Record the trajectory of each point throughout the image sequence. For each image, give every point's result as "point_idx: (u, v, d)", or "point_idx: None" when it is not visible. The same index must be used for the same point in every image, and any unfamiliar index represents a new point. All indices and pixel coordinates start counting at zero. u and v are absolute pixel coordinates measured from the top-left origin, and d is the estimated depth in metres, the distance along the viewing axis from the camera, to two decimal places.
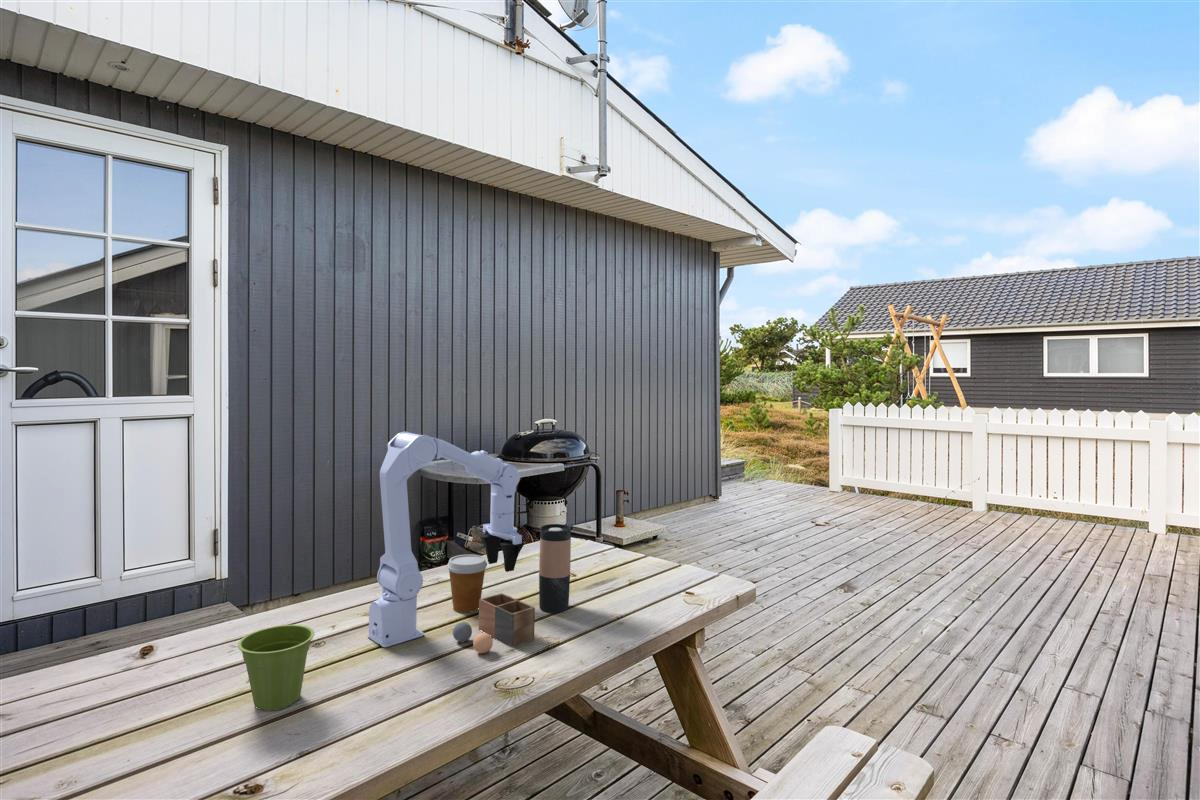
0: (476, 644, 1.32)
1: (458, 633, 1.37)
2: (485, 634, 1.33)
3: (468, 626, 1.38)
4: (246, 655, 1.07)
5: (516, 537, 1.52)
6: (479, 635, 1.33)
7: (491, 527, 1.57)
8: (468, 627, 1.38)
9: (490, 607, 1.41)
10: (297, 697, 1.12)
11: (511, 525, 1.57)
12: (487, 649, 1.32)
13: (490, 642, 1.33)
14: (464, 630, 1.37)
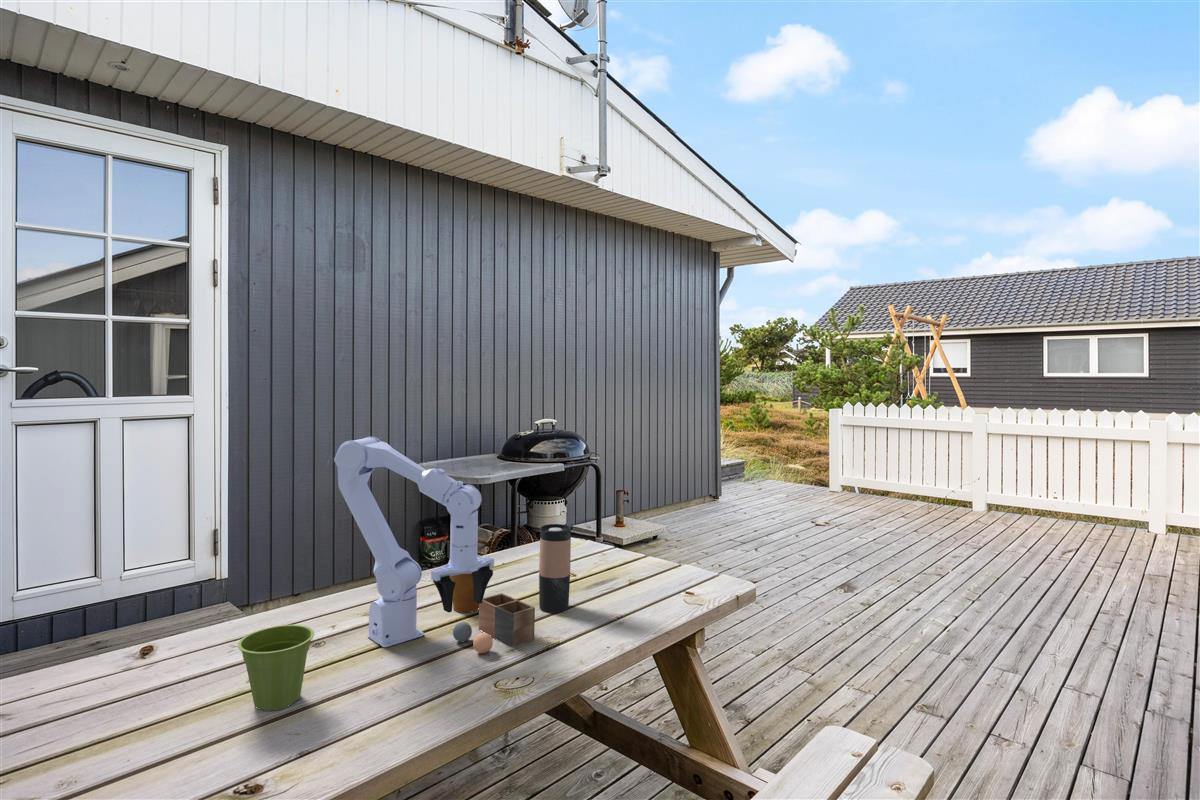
0: (476, 644, 1.32)
1: (458, 633, 1.37)
2: (485, 634, 1.33)
3: (468, 626, 1.38)
4: (246, 655, 1.07)
5: (432, 571, 1.33)
6: (479, 635, 1.33)
7: None
8: (468, 627, 1.38)
9: (490, 607, 1.41)
10: (297, 697, 1.12)
11: (455, 560, 1.35)
12: (487, 649, 1.32)
13: (490, 642, 1.33)
14: (464, 630, 1.37)
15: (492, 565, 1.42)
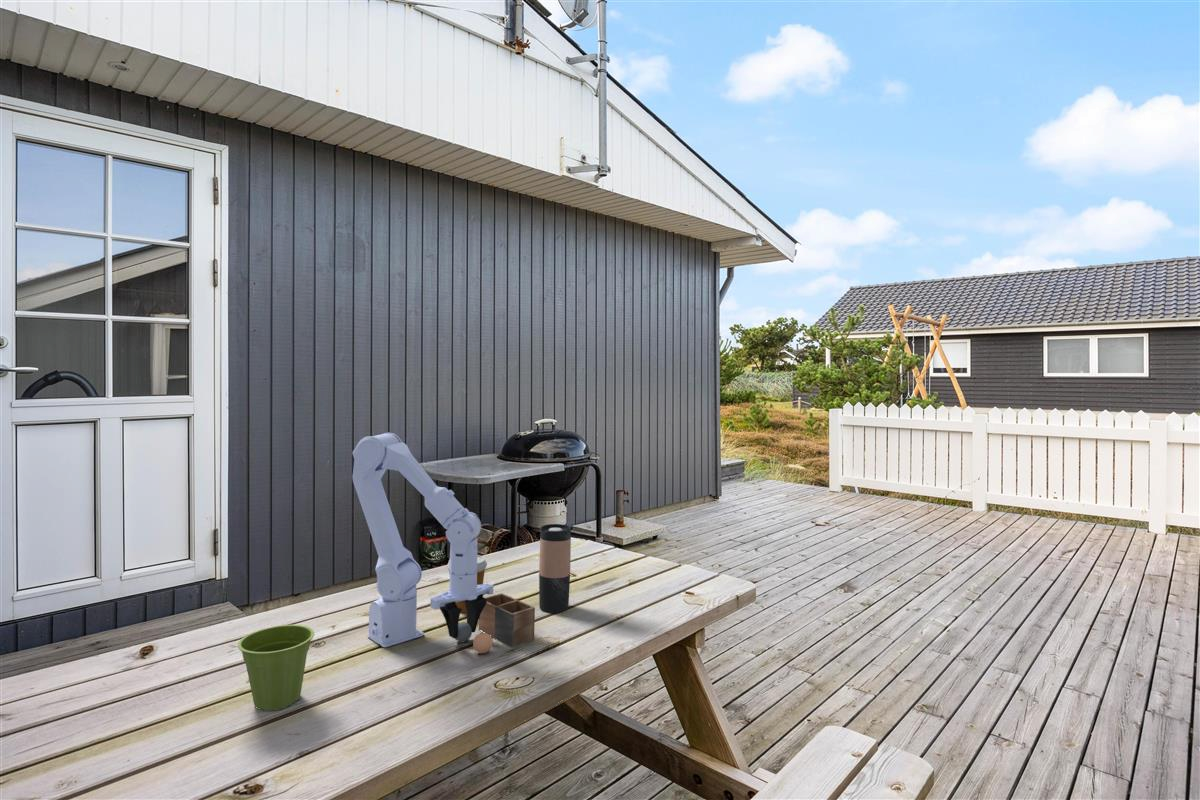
0: (476, 644, 1.32)
1: (458, 633, 1.37)
2: (485, 634, 1.33)
3: (468, 626, 1.38)
4: (246, 655, 1.07)
5: (431, 600, 1.33)
6: (479, 635, 1.33)
7: None
8: (468, 627, 1.38)
9: (490, 607, 1.41)
10: (297, 697, 1.12)
11: (455, 588, 1.36)
12: (487, 649, 1.32)
13: (490, 642, 1.33)
14: (464, 630, 1.37)
15: (491, 592, 1.42)
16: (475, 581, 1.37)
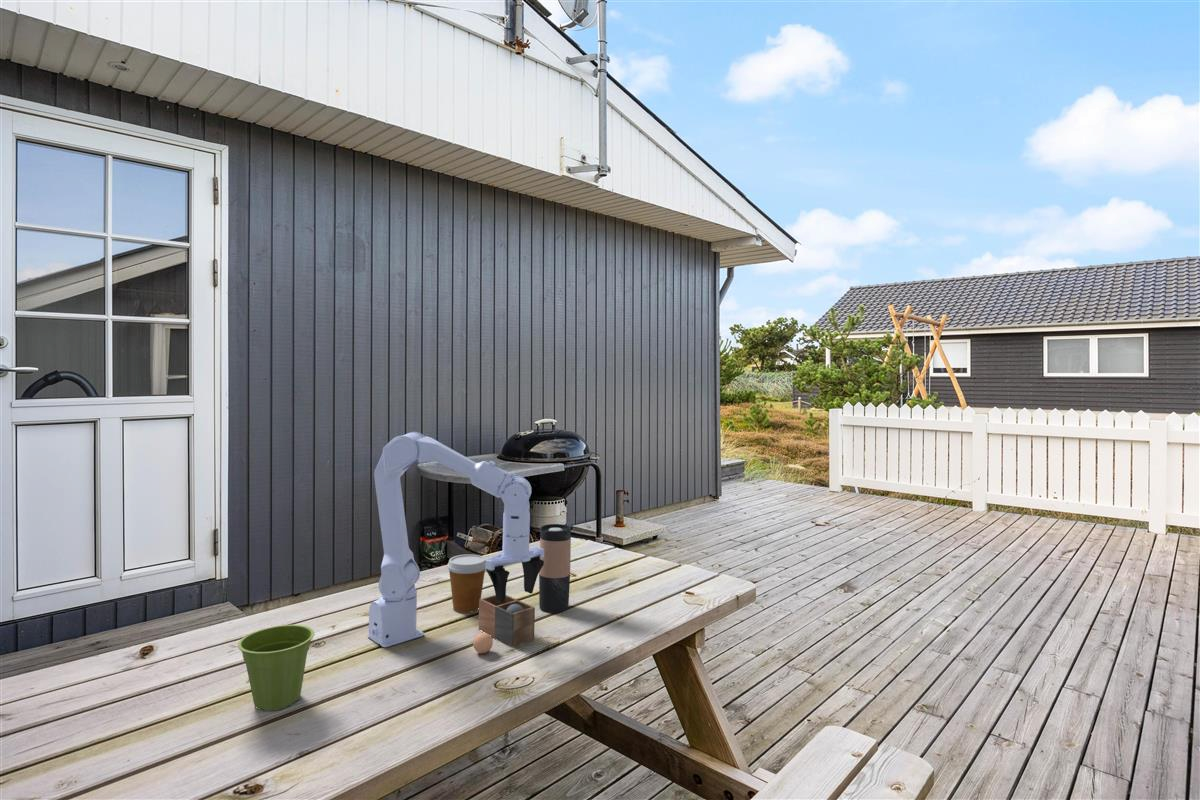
0: (476, 644, 1.32)
1: None
2: (485, 634, 1.33)
3: None
4: (246, 655, 1.07)
5: (486, 561, 1.35)
6: (479, 635, 1.33)
7: None
8: None
9: (490, 607, 1.41)
10: (297, 697, 1.12)
11: (509, 550, 1.37)
12: (487, 649, 1.32)
13: (490, 642, 1.33)
14: None
15: (542, 555, 1.44)
16: (528, 544, 1.39)
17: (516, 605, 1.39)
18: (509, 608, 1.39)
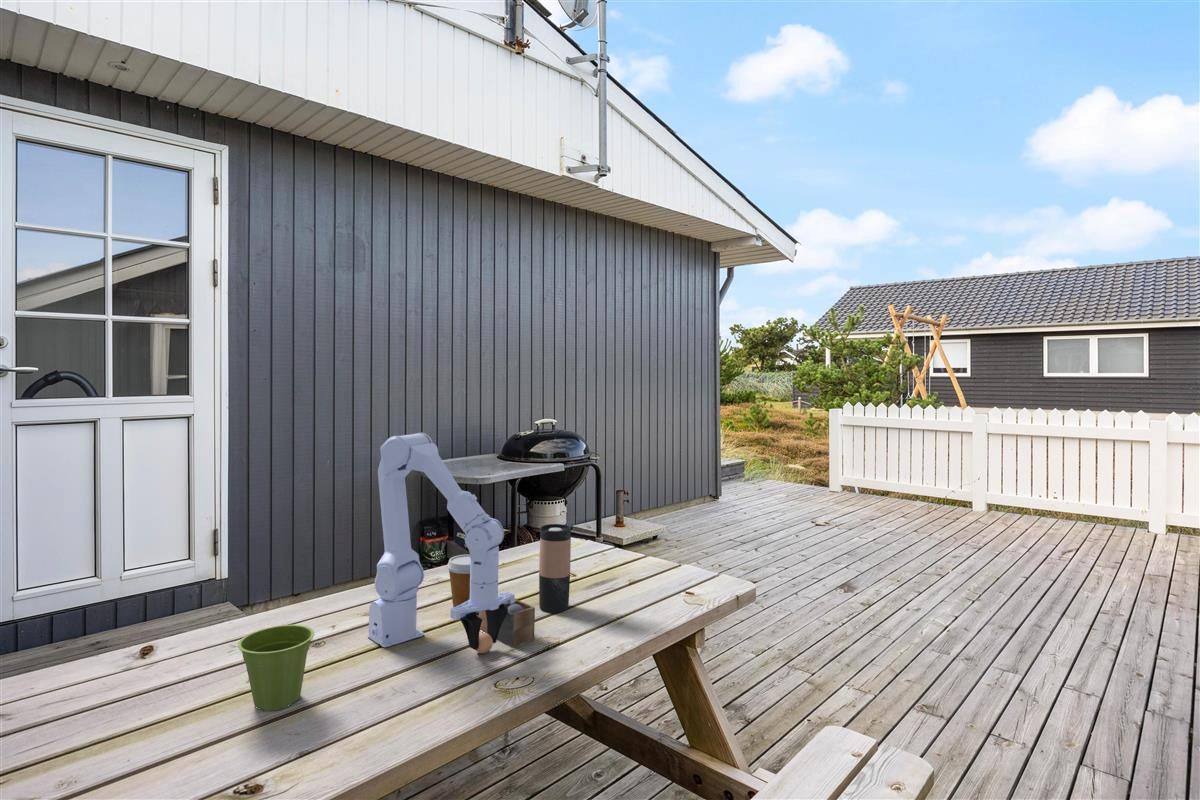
0: None
1: None
2: (485, 634, 1.33)
3: None
4: (246, 655, 1.07)
5: (451, 610, 1.28)
6: (479, 635, 1.33)
7: None
8: None
9: None
10: (297, 697, 1.12)
11: (476, 598, 1.30)
12: (487, 649, 1.32)
13: (490, 642, 1.33)
14: None
15: (512, 601, 1.37)
16: (496, 590, 1.32)
17: (516, 605, 1.39)
18: (509, 608, 1.39)
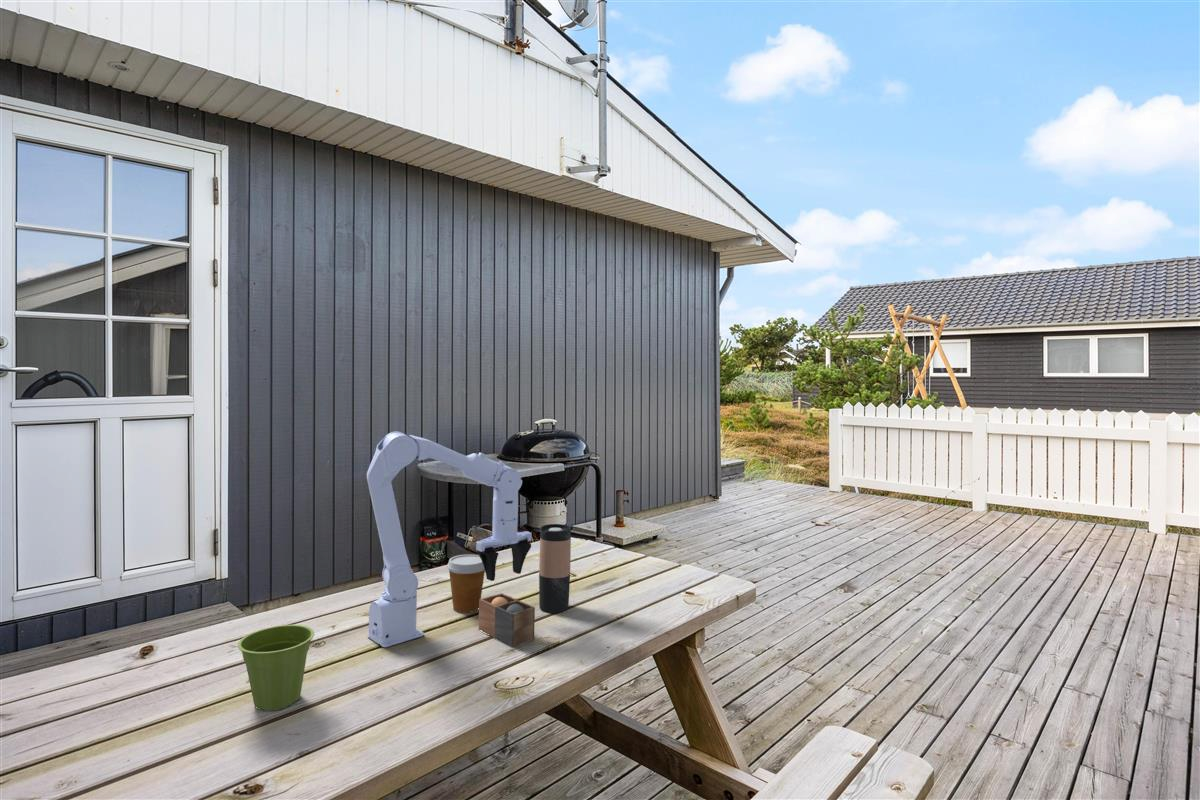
0: None
1: None
2: None
3: None
4: (246, 655, 1.07)
5: (477, 543, 1.45)
6: (499, 603, 1.42)
7: None
8: None
9: (490, 607, 1.41)
10: (297, 697, 1.12)
11: (498, 533, 1.47)
12: None
13: None
14: None
15: (530, 539, 1.54)
16: (516, 527, 1.49)
17: (516, 605, 1.39)
18: (509, 608, 1.39)
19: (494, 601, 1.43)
